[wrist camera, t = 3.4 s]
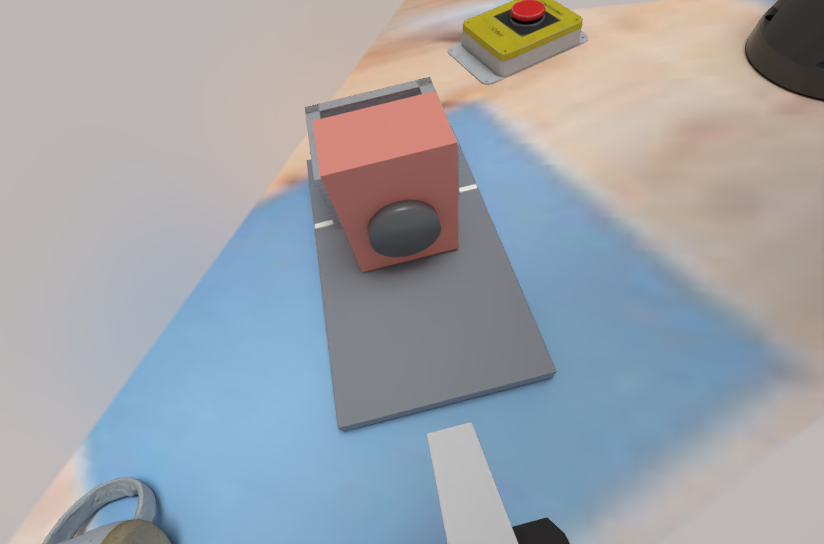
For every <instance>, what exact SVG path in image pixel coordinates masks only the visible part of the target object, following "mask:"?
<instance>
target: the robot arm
mask: <svg viewBox="0 0 824 544" xmlns="http://www.w3.org/2000/svg"><path fill="white" fill-rule="evenodd" d="M746 52H747V56H748V58H749V60H750V61H751V63H752V64H753V65H754V67H755V68H756V69H757V70H758V71H760V72H761V73H762V74H763V75H764V76H766V77H767V78H769V79H770V80H772V81H774V82H775V83H777V84H779V85H781V86H783V87H786V88H788V89H790V90H793V91H795V92H798V93H801V94H804V95H808V96H811V97H815V98H820V99H824V0H778V1H777V2H776V3H775V4H774V5H773V6H772V7H771V8H770V9H769V10H768V11H767V12H766V13H765V14H764V15H763V16H762V18H761V19H760V20H759V22H758V24H757V25H756V27H755V28H754V30H753V32H752V33H751V35H750V36H749V38H748V40H747V43H746ZM427 437H428V442H429V448H430V453H431V458H432V463H433V469H434V474H435V479H436V485H437V490H438V495H439V500H440V506H441V511H442V516H443V522H444V527H445V532H446V537H447V543H448V544H570V543H569V541H568V539H567V537H566V535H565V533H563V532H562V531H561V530H560V529H559V528H558V527H557V526H556V525H555V524H554V523H553V522H551V521H550V520H549V519H548V518H543V519H540V520H536V521H532V522H529V523H525V524H521V525H518V526H514V527H512V526H511V523H510V521H509V518H508V516H507V513H506V510H505V508H504V505H503V503H502V500H501V497H500V495H499V492H498V490H497V487H496V484H495V482H494V479H493V477H492V474H491V471H490V469H489V466H488V464H487V461H486V458H485V456H484V453H483V451H482V448H481V445H480V443H479V440H478V438H477V435H476V432H475V430H474V427H473V425H472V422H469V423H465V424H462V425H458V426H454V427H450V428H447V429H443V430H439V431H435V432H432V433H428V434H427Z"/></svg>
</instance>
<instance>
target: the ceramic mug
mask: <svg viewBox="0 0 824 544" xmlns="http://www.w3.org/2000/svg"><path fill="white" fill-rule="evenodd" d="M137 494H138V495H139V499H138V508H137V510H136V514H135V518H134V520H126V521H121V522H116V523H112V524H108V525H105V526H102V527H99V528H97V529H94V530H91V531H89V532H86V533H84V534H81V535H79V536H77V537H75V538H73V536H74V535H75V534H76V532H77V531H78V529H79V528H80V527H81V526H82V524H83V523H84V522H85V521H86V520H87V519H88V518H89V517H90V516H91V515H92V514H93V513H94V512H95V511H96V510H97V509H98V508H100V507H101V506H103V505H104V504H106V503H108V502H110V501H113V500H116V499H119V498H122V497H126V496H130V497H132V496H134V495H137ZM155 513H156V499H155V495H154V493H153V491H152V490H151V489H150V488H149V487H148V486H147V485H145V484H144V483H142V482H141V481H140V480H137V479H134V478H131V477H125V478H118V479H114V480H111V481H108V482H106V483H104V484H101V485H99V486H98V487H96V488H94V489H93V490H91V491H90V492H88V493H87V494H85V495H84V496H83V497H81V498H80V499H79V500H78V501H77V502H76V503H75V504H73V505H72V506H71V507H70V508H69V510H68V511H67V512H66V513H65V514H64V515H63V516H62V517H61V518H60V519H59V521H58V522H57V523H56V525H55V526H54V527H53V528H52V530H51V531H50V532H49V534H48V535H47V537H46V538H45V540H44V542H43V543H42V544H171V542H170V540H169V539H168V537H167V536H166V534H165V533H164V532H163V531H162V530H161V529H160V528H159V527H158V526H157V525H155V524H154V523H153V521H154V517H155Z"/></svg>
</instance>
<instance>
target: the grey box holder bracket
mask: <svg viewBox="0 0 824 544" xmlns="http://www.w3.org/2000/svg"><path fill="white" fill-rule="evenodd" d="M433 91H435V92H436V90H435V88H434V86H433V83H432V81H431V79H430V77H428V78H423V79H419V80H415V81H411V82H407V83H403V84H399V85H395V86H391V87H386V88H382V89H378V90H374V91H370V92H366V93H362V94H358V95H354V96H349V97H345V98H341V99H337V100H333V101H329V102H325V103H321V104H317V105H312V106H308V107H305V112H306V120H307V129H308V137H309V145H310V153H311V161H312V169H313V177H314V182H315V184H316V186H317V188H318V190H319V192H320V195H321V197H322V199H323V201H324V203H325V205H326V208H327V210H328V212H329V214H330V216H331V218H332V220H333V223H334V225H335V227H336V229H337V228H341V227H342V225H341V222H340V220H339V218H338V216H337V213H336V211H335V209H334V206H333V204H332V202H331V200H330V197H329V195H328V193H327V191H326V188H325V186H324V184H323V181H322V179H321V177H320V171H319V163H318V156H317V149H316V142H315V134H314V127H313V121H314V120H319V119H323V118H327V117H331V116H335V115H339V114H343V113H347V112H351V111H355V110H360V109H364V108H368V107H372V106H376V105H380V104H384V103H388V102H392V101H396V100H400V99H405V98H409V97H413V96H417V95H421V94H425V93H429V92H433ZM436 94H437V93H436ZM437 97H438V95H437ZM438 99H439V97H438ZM439 101H440V100H439ZM440 104H441V102H440ZM441 106H442V104H441ZM442 108H443V107H442ZM443 111H444V109H443ZM444 113H445V111H444ZM445 115H446V114H445ZM446 118H447V116H446ZM447 120H448V118H447ZM448 123H449V121H448ZM449 125H450V123H449ZM450 127H451V125H450ZM451 130H452V128H451ZM452 132H453V130H452ZM453 134H454V133H453ZM454 137H455V135H454ZM455 139H456V137H455ZM456 141H457V140H456ZM457 174H458V198H459V144H458V142H457Z"/></svg>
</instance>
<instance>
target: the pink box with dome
mask: <svg viewBox="0 0 824 544" xmlns="http://www.w3.org/2000/svg"><path fill="white" fill-rule="evenodd" d="M313 127H314V134H315V142H316V149H317V156H318V163H319V171H320V177H321V179H322V181H323V184H324V186H325V188H326V191H327V193H328V195H329V197H330V200H331V202H332V204H333V206H334V209H335V211H336V213H337V216H338V218H339V220H340V222H341V225H342V227H343V229H344V232H345V234H346V236H347V238H348V241H349V243H350V245H351V247H352V250H353V252H354V254H355V257H356V259H357V261H358V263H359V266H360V268H361V270H362V272H366V271H370V270H374V269H378V268H382V267H386V266H390V265H394V264H398V263H402V262H406V261H410V260H414V259H418V258H422V257H425V256H429V255H433V254H437V253H441V252H445V251H449V250H453V249H457V248H459V242H458V174H457V141H456V139H455V137H454V134H453V132H452V130H451V127H450V125H449V123H448V120H447V118H446V115H445V113H444V111H443V108H442V106H441V104H440V101H439V99H438V97H437V94H436V92H435V91H433V92H429V93H425V94H421V95H417V96H413V97H409V98H405V99H400V100H396V101H392V102H388V103H384V104H380V105H376V106H372V107H368V108H364V109H360V110H355V111H351V112H347V113H343V114H339V115H335V116H331V117H327V118H323V119H319V120H314V121H313Z"/></svg>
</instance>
